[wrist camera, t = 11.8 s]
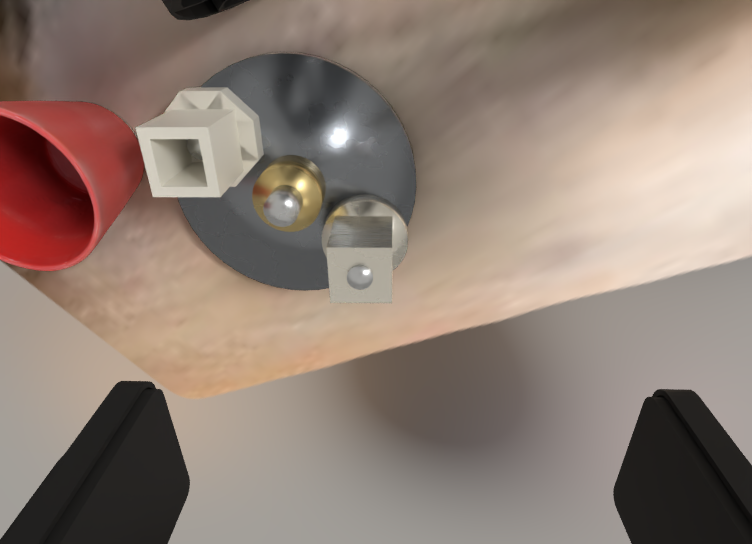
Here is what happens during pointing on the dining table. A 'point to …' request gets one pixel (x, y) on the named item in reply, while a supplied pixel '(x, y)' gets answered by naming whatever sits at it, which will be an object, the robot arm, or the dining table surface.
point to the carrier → (313, 182)
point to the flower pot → (62, 180)
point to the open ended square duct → (216, 138)
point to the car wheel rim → (198, 7)
